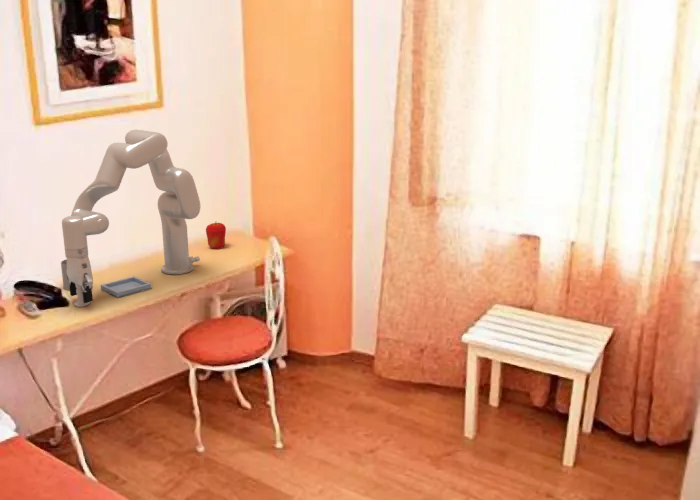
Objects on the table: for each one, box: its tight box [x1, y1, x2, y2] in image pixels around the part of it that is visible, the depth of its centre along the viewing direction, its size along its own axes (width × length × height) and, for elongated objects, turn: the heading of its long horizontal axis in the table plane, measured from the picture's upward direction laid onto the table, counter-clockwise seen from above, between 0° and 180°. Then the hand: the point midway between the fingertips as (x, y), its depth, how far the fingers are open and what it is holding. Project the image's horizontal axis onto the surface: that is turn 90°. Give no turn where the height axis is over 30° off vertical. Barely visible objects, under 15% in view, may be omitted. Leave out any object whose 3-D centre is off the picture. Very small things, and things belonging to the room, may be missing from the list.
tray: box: [100, 276, 153, 299], centre depth 300 cm, size 14×12×2 cm
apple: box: [205, 221, 227, 250], centre depth 349 cm, size 9×8×12 cm
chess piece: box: [74, 282, 91, 308], centre depth 284 cm, size 5×5×9 cm
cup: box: [60, 258, 88, 292], centre depth 302 cm, size 8×8×10 cm
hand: (81, 298), depth 285 cm, fingers open, 9 cm apart
